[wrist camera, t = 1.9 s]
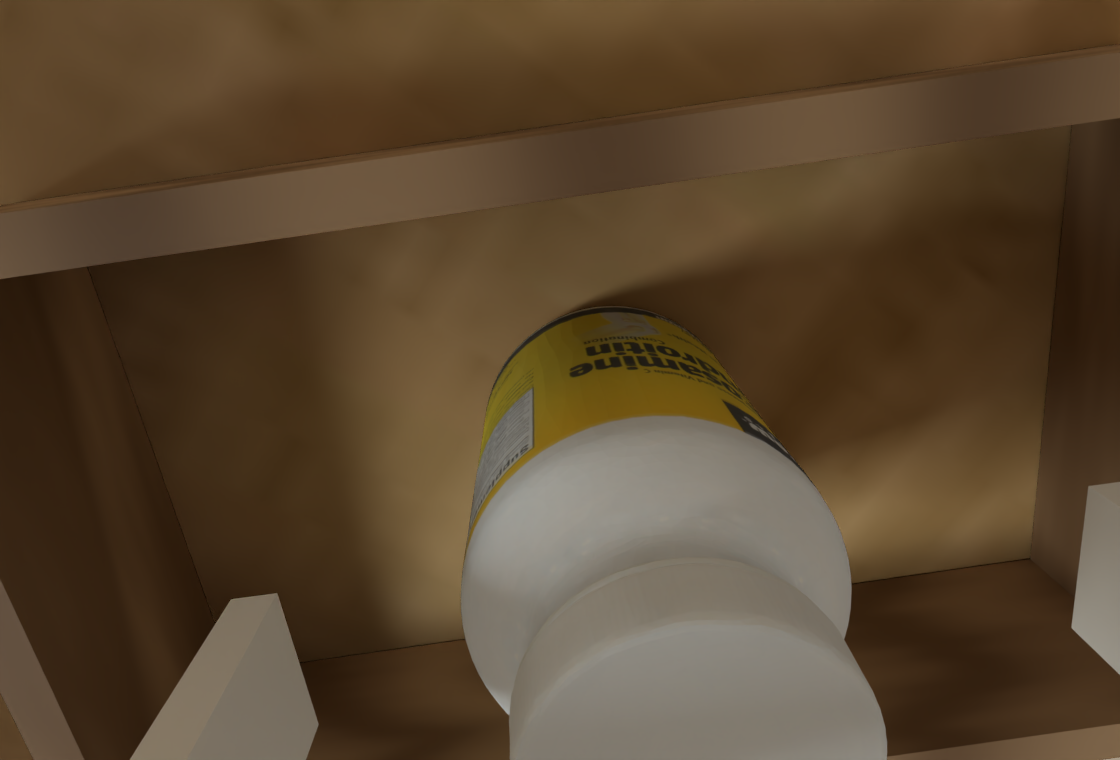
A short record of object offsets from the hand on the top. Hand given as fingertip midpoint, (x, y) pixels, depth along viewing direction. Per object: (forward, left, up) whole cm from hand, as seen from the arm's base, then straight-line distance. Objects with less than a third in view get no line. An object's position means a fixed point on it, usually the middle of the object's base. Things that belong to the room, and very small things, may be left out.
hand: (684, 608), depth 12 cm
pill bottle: (0, 0, -9) cm, 8 cm away
